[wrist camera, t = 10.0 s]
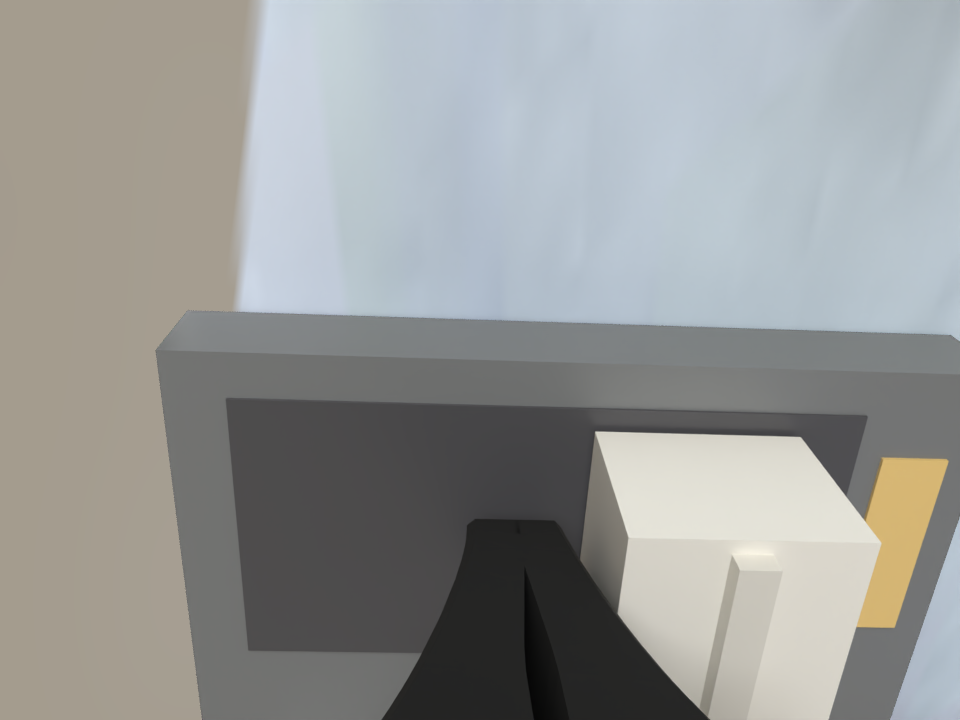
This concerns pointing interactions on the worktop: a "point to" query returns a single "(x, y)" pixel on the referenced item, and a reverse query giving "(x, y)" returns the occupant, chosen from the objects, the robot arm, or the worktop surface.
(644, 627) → the tab
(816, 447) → the switch plate
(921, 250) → the worktop surface
